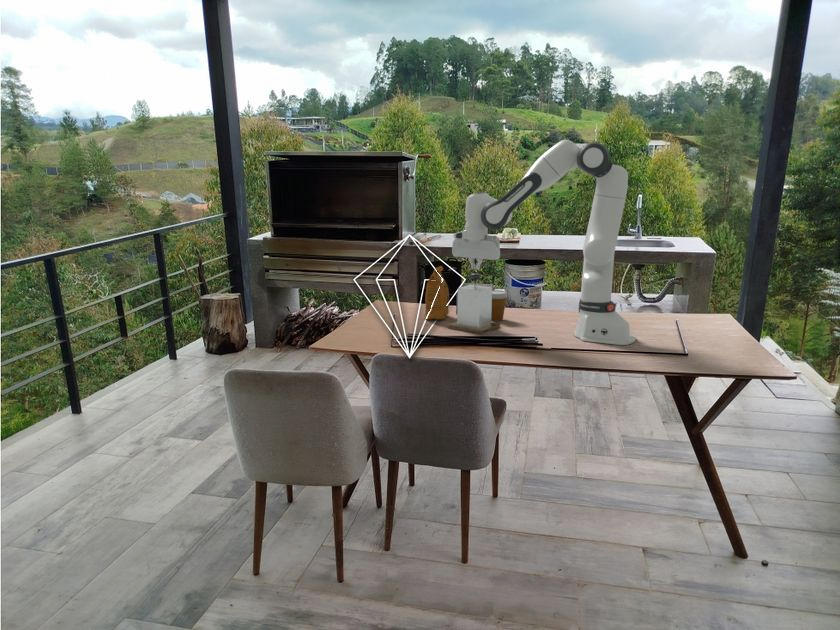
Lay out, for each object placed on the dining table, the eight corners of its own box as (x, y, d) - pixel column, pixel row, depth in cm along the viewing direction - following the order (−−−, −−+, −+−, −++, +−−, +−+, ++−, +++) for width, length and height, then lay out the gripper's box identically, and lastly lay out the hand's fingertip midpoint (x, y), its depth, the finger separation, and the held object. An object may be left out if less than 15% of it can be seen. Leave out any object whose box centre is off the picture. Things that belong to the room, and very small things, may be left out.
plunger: (487, 318, 244) (488, 273, 240) (477, 322, 238) (478, 276, 234) (471, 316, 249) (472, 272, 245) (461, 319, 243) (462, 274, 239)
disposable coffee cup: (495, 316, 265) (495, 289, 262) (511, 319, 258) (512, 292, 255) (479, 319, 259) (480, 291, 257) (495, 323, 252) (496, 294, 249)
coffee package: (452, 315, 266) (452, 266, 261) (444, 321, 254) (444, 270, 249) (430, 314, 269) (431, 265, 264) (421, 320, 257) (422, 268, 252)
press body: (499, 327, 245) (501, 287, 242) (482, 334, 234) (483, 292, 231) (465, 321, 254) (466, 283, 251) (447, 328, 243) (448, 287, 240)
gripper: (503, 235, 233) (502, 270, 236) (458, 232, 244) (458, 266, 247) (495, 236, 228) (494, 272, 231) (450, 233, 239) (449, 268, 242)
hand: (475, 269), depth 239 cm, fingers closed
